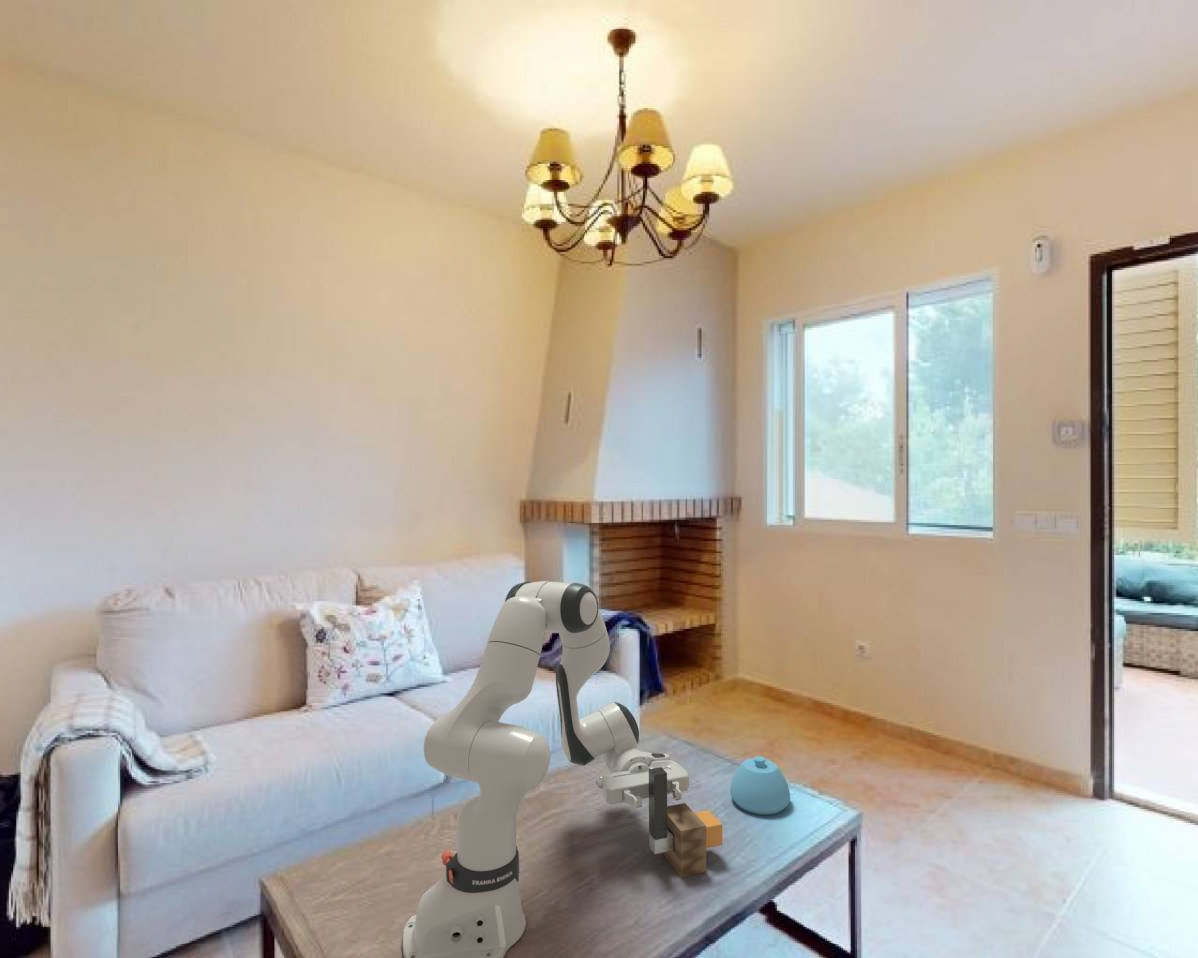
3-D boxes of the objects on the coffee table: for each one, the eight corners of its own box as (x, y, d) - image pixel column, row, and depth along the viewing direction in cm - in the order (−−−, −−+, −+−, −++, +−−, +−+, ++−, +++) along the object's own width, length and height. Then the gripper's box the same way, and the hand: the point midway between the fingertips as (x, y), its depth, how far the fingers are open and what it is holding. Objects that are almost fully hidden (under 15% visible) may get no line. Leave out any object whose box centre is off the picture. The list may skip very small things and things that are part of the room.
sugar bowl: (799, 800, 167) (799, 755, 167) (775, 824, 156) (774, 777, 155) (746, 782, 177) (746, 740, 177) (719, 804, 165) (719, 760, 165)
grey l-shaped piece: (654, 854, 137) (654, 775, 137) (649, 846, 140) (648, 769, 140) (720, 839, 143) (720, 763, 142) (714, 832, 145) (713, 757, 145)
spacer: (706, 848, 140) (706, 827, 139) (692, 833, 145) (692, 813, 145) (722, 844, 141) (722, 824, 141) (708, 829, 147) (708, 809, 147)
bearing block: (681, 877, 136) (680, 830, 135) (661, 851, 145) (661, 807, 145) (706, 871, 138) (706, 825, 137) (685, 846, 147) (685, 802, 147)
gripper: (593, 765, 148) (613, 793, 135) (673, 752, 155) (700, 778, 142) (593, 792, 148) (614, 823, 135) (673, 778, 155) (700, 806, 142)
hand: (659, 800), depth 138 cm, fingers open, 8 cm apart
